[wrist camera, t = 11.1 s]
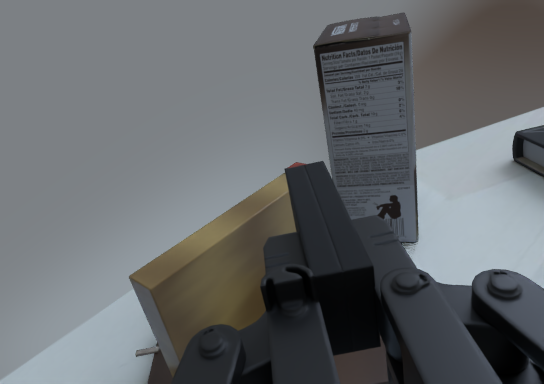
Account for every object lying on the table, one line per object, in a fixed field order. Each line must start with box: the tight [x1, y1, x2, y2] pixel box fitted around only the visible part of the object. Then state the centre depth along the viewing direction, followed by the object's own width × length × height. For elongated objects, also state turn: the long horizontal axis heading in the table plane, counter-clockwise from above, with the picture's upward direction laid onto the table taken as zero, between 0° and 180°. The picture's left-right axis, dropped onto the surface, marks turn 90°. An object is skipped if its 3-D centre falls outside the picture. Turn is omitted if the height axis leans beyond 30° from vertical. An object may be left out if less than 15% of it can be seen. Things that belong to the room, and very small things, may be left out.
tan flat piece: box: [129, 162, 306, 377], centre depth 23 cm, size 12×2×8 cm, turn 138°
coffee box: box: [313, 13, 418, 242], centre depth 34 cm, size 9×6×16 cm
